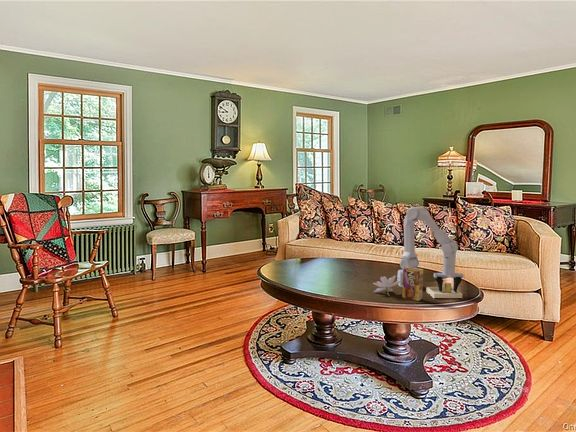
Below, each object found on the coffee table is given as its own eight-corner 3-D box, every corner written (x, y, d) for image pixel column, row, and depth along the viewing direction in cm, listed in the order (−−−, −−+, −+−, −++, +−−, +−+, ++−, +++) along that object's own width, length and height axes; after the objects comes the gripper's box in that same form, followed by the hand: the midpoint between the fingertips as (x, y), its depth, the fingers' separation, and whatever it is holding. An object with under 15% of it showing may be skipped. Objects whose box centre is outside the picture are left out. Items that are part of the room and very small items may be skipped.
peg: (445, 295, 215) (446, 284, 214) (443, 294, 218) (443, 282, 217) (451, 296, 215) (452, 284, 214) (449, 294, 218) (449, 282, 217)
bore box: (434, 298, 210) (434, 293, 210) (426, 291, 222) (426, 286, 222) (462, 298, 211) (462, 293, 210) (452, 291, 222) (452, 287, 222)
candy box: (422, 299, 209) (423, 269, 207) (418, 301, 206) (419, 270, 204) (405, 295, 215) (407, 266, 213) (401, 297, 212) (403, 267, 210)
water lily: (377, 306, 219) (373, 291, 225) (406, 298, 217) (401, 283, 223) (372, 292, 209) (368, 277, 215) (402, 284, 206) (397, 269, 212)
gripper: (437, 266, 211) (436, 293, 212) (466, 267, 211) (465, 293, 212) (432, 263, 218) (431, 289, 219) (460, 264, 218) (459, 289, 219)
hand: (447, 291), depth 216 cm, fingers open, 7 cm apart
